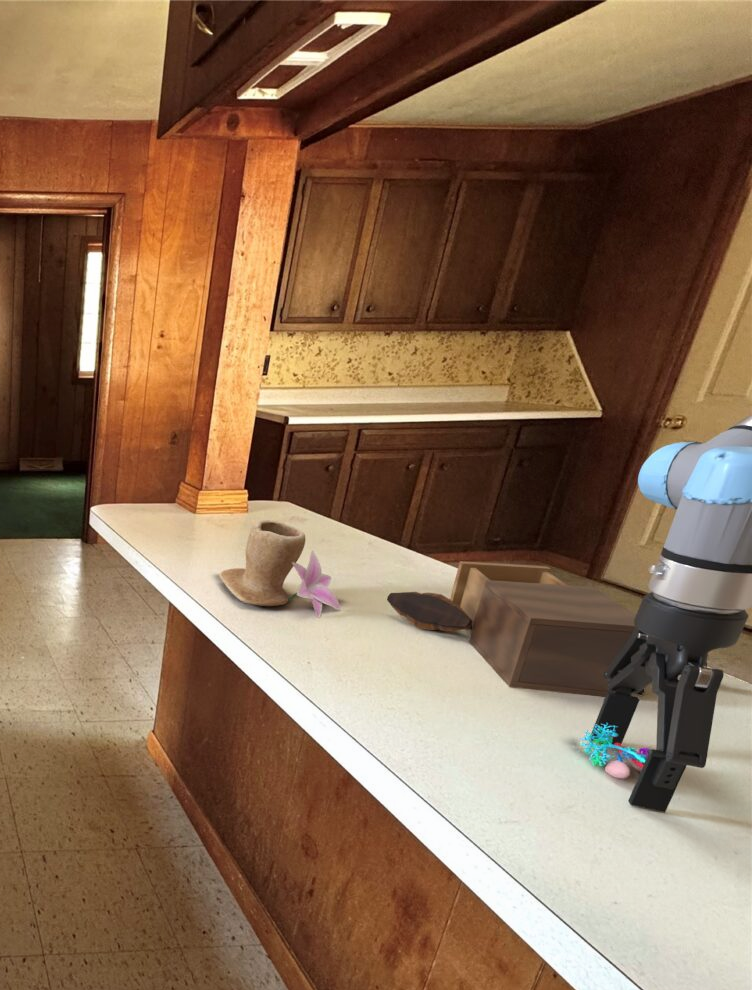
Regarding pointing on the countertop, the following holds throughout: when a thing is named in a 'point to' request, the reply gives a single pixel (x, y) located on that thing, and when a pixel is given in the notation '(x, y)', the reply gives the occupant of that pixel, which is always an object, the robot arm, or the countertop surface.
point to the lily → (315, 585)
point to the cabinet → (550, 635)
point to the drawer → (476, 574)
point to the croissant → (430, 611)
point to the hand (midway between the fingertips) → (624, 772)
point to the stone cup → (266, 564)
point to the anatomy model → (616, 766)
